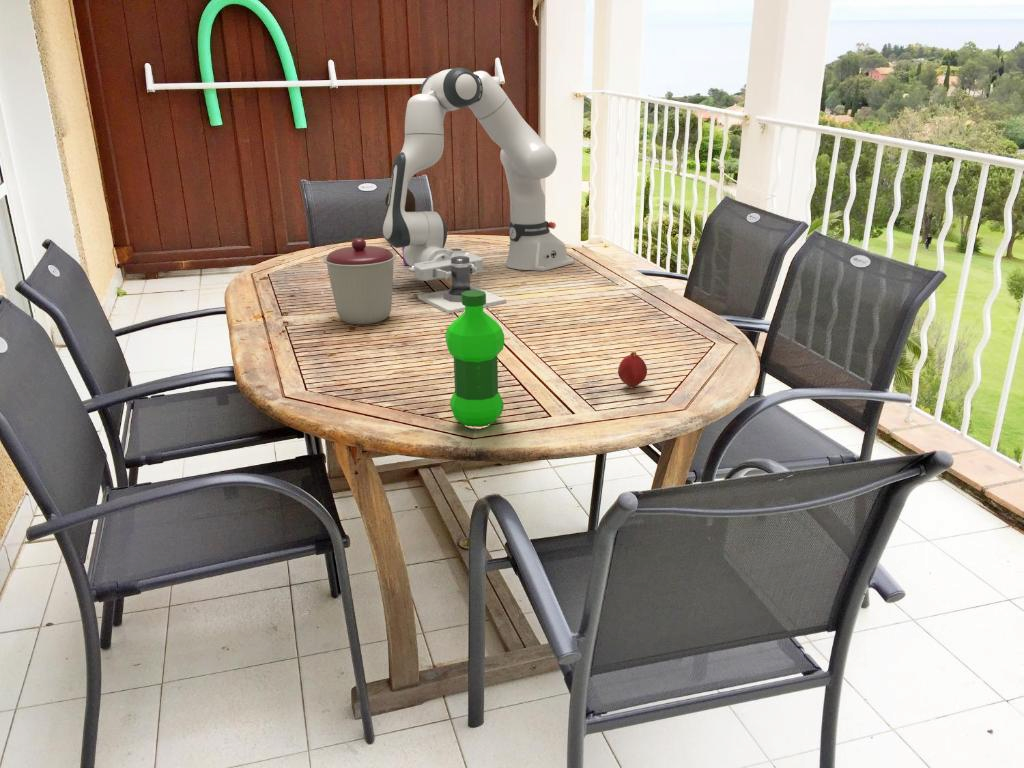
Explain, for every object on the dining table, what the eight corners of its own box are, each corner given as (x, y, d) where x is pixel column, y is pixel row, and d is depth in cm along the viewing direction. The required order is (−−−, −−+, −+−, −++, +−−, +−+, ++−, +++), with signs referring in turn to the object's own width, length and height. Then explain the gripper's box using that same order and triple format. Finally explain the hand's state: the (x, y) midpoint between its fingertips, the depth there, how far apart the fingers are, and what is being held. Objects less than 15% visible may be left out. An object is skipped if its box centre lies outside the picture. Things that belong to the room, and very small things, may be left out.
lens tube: (465, 293, 228) (463, 255, 224) (474, 297, 224) (473, 258, 220) (448, 296, 226) (447, 257, 221) (458, 300, 222) (456, 261, 217)
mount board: (473, 288, 237) (472, 280, 236) (506, 302, 223) (506, 294, 222) (418, 298, 228) (417, 289, 227) (449, 314, 214) (448, 305, 213)
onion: (614, 383, 168) (616, 346, 165) (642, 381, 168) (644, 345, 165) (620, 393, 163) (622, 356, 160) (648, 392, 163) (651, 355, 160)
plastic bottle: (453, 411, 155) (448, 285, 146) (508, 413, 154) (506, 286, 145) (444, 434, 146) (438, 300, 137) (502, 436, 145) (500, 301, 136)
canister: (357, 305, 222) (350, 229, 214) (413, 313, 214) (408, 234, 207) (315, 324, 207) (306, 242, 199) (373, 333, 199) (366, 249, 192)
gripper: (404, 257, 226) (427, 267, 215) (468, 248, 236) (493, 257, 225) (406, 279, 228) (429, 290, 218) (468, 269, 239) (493, 279, 228)
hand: (462, 273), depth 222 cm, fingers open, 7 cm apart
